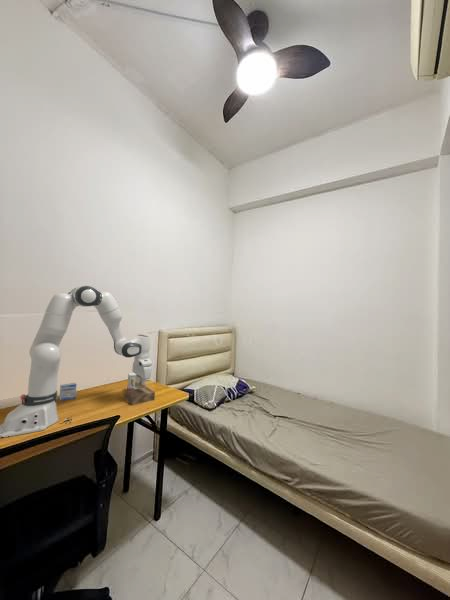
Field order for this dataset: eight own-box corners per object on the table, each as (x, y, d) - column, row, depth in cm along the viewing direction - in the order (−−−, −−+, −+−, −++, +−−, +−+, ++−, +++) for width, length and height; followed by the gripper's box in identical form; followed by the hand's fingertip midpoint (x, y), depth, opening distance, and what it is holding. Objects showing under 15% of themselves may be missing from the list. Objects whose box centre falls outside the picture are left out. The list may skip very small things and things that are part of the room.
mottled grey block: (138, 388, 144) (138, 377, 144) (134, 386, 148) (135, 375, 148) (146, 387, 147) (146, 376, 148) (142, 385, 151) (143, 374, 151)
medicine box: (60, 401, 139) (61, 386, 140) (59, 398, 143) (60, 384, 143) (75, 398, 144) (76, 384, 145) (74, 396, 148) (75, 382, 148)
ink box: (128, 393, 157) (129, 375, 157) (126, 390, 161) (127, 373, 161) (141, 390, 162) (142, 373, 162) (139, 388, 166) (140, 371, 166)
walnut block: (131, 405, 138) (132, 397, 138) (124, 399, 147) (125, 391, 147) (154, 400, 147) (154, 392, 148) (146, 394, 156) (146, 386, 156)
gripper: (130, 358, 154) (129, 379, 153) (143, 364, 138) (142, 388, 138) (139, 357, 158) (138, 377, 157) (153, 363, 143) (152, 386, 142)
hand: (140, 382), depth 148 cm, fingers closed on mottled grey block, 5 cm apart
